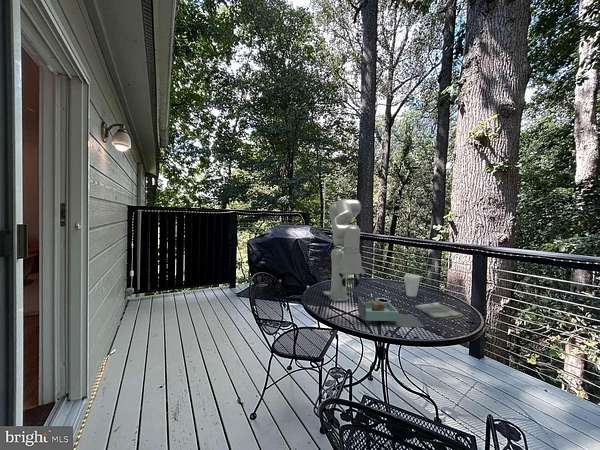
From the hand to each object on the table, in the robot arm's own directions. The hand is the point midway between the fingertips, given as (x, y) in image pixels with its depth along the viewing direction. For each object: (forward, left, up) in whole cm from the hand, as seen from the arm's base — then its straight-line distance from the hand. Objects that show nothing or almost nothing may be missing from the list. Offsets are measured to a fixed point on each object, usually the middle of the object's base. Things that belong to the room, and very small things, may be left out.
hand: (350, 285), depth 151 cm
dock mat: (+27, 0, -17) cm, 32 cm away
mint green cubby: (+15, 0, -17) cm, 23 cm away
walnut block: (+15, 0, -13) cm, 20 cm away
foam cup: (+50, +44, -18) cm, 69 cm away
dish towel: (+53, +13, -18) cm, 58 cm away
